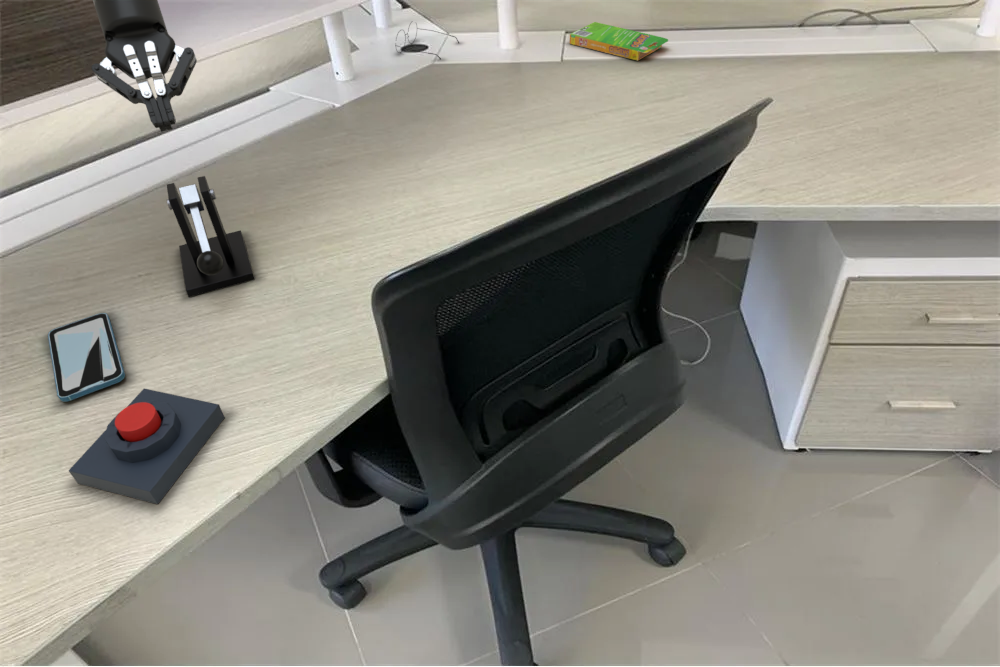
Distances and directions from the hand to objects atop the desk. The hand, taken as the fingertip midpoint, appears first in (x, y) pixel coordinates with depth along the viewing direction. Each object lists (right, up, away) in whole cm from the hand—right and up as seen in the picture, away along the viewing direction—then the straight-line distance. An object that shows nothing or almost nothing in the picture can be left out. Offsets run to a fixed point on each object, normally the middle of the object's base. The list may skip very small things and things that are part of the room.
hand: (166, 128), depth 90 cm
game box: (+70, +38, +68) cm, 105 cm away
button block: (+5, -39, -14) cm, 42 cm away
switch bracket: (+2, -17, +11) cm, 20 cm away
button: (+5, -36, -17) cm, 40 cm away
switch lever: (+3, -13, +4) cm, 14 cm away
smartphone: (-9, -30, -3) cm, 31 cm away
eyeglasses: (+26, +39, +72) cm, 86 cm away
